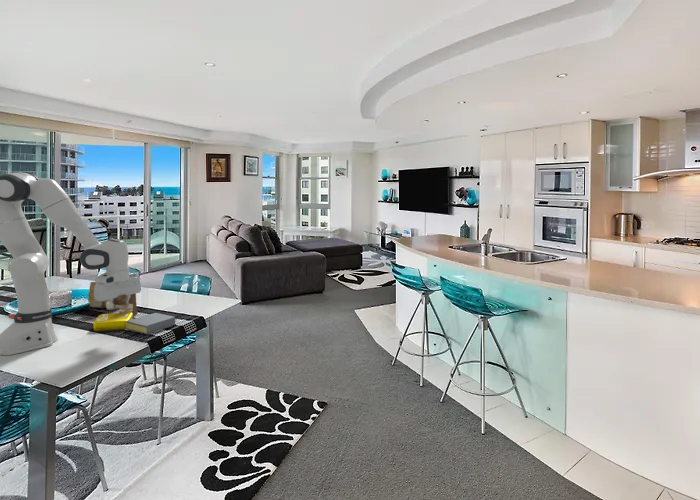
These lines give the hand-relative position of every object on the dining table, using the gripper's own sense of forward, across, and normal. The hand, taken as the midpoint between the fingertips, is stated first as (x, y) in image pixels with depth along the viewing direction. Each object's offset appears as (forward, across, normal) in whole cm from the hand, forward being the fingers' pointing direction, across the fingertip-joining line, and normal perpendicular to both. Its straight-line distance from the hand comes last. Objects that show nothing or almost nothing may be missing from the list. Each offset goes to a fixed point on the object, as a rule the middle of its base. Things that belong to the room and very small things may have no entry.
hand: (119, 306), depth 196 cm
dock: (+14, -16, -1) cm, 21 cm away
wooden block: (+14, -21, -25) cm, 36 cm away
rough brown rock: (+15, -28, -49) cm, 58 cm away
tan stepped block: (+2, 0, 0) cm, 2 cm away
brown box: (-1, 0, 0) cm, 1 cm away
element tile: (+15, -9, -19) cm, 26 cm away
